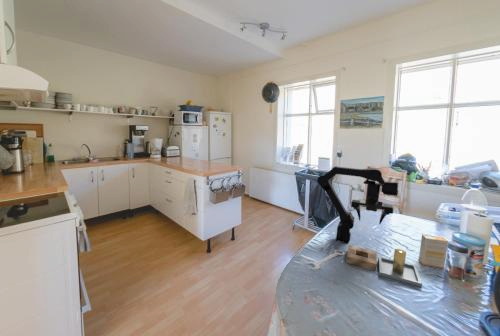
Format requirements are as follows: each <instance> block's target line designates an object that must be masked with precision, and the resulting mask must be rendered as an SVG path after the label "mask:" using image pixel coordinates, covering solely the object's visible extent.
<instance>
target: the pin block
mask: <svg viewBox="0 0 500 336" xmlns="http://www.w3.org/2000/svg"><path fill="white" fill-rule="evenodd" d="M345 262H346V263H347V264H350V265H354V266H358V267H362V268H366V269H369V270H373V271H377V269H378V256H377V251H375V250H371V249H367V248H363V247H360V246H356V245H350V244H349V245H348V250H347V253H346V261H345Z"/></svg>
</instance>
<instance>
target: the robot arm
mask: <svg viewBox="0 0 500 336" xmlns="http://www.w3.org/2000/svg"><path fill="white" fill-rule="evenodd" d="M336 175H341V176H342V175H343V176H350V177H351V176H352V177H359V178H363V179H365V180H364V181H363V184H365V185H366V192H365V193H366V195H365V202H361V200H359V199H352V200H351V202H350V208H353V209H354V210H355V211H356V213H357V217H358V220H359V221H361V207H363V208H365V210H366V211H372V212H375V213H376V212H378V210H381V213H380V218H379V225H381V224H382V222H383V221H384V219H385V218H386V216H387V215H390V214H394V207H393V205H392V204H386V203H385V204H383V201H379V199H380V192H381V193H382V194H383V195H384V196H392V197H398V194H399V193H398V192H399V187H398V185H399V183H398V182H397V181H387V180H386V181H385V178H383V176H382V171H381V170H380V169H379V168H376V167H371V168H368V167H367V168H355V167H354V168H352V167H344V166H342V167H341V166H337V165H335V166H334V167H332V168H331V169H330V170H329V171H327V172H326V173H322V174H320V175H319V176H318V177H317V179H316V180H317V184H318V185H319V187H320V188H321V189H322V190H324V192H325V193H326V195H327V196H328V198H329V200H330V201H331V204H332V205H333V207H334V208H335V210H336V212H337V214H338V216H339V220H340V221H338V224H337V227H336V228H337V229H336V237H335V241H337V242H341V243H346V244H349V242H350V241H351V236H352V233H351V229H352V230H353V228H354V226H355V216H353V213H352V212H351V211H349V212H348V211H347V210H346V209H345V207H344V205H343V203H342V201H341V199H340V198H339V196H338V194H337V193H336V191H335V190H334V189H335V188H333V183H332V180H331V179H332V178H334V177H335V176H336Z"/></svg>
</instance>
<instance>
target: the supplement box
mask: <svg viewBox="0 0 500 336" xmlns="http://www.w3.org/2000/svg"><path fill="white" fill-rule="evenodd" d="M447 244H448V245H449V241H448V240H447V238H445V237H444V236H439V235H431V234H424V233H422V234H421V241H420V246H419V254H418V261H419V263H421V265H422V266H427V267H434V268H439V269H444V268H445V263H446V258H447V253H448V252H447V250H448V246H447Z"/></svg>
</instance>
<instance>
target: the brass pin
mask: <svg viewBox="0 0 500 336" xmlns="http://www.w3.org/2000/svg"><path fill="white" fill-rule="evenodd" d="M406 256H407V252H406V251H405V250H404V249H401V248H395V249H394V252H393V267H392V270H393V271H394V272H395V273H398V274H403V273H404V266H405V263H406Z"/></svg>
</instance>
